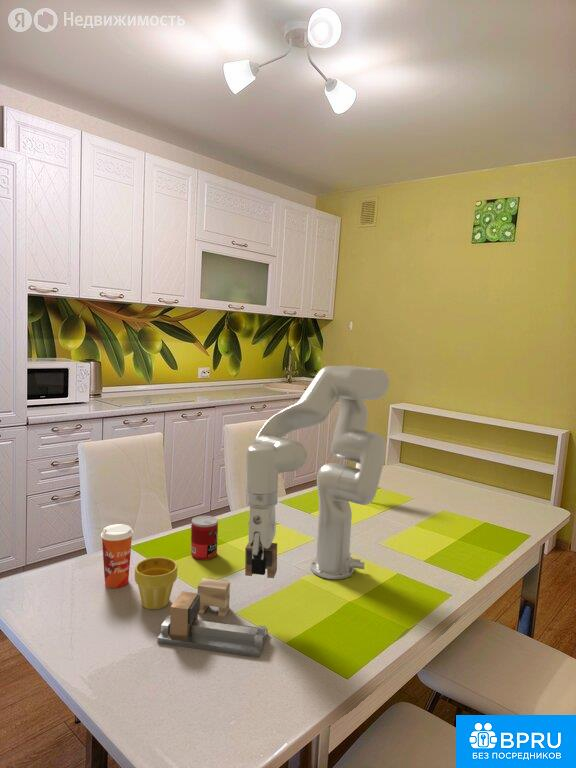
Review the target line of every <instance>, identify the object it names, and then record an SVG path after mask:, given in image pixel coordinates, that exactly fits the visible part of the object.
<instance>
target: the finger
mask: <svg viewBox="0 0 576 768" xmlns="http://www.w3.org/2000/svg"><path fill="white" fill-rule="evenodd" d="M259 545H262V544H259ZM252 550H253V546H252V547H250V546H249V541H248V542H247V545H246V546H245V555H244V557H245V558H244V559H245V560H244V561H245V567H244V569H245V572H244V573H245V575H244V576H247V577H248V576H249V577H252V576H253V574H252ZM259 551H260V552H261V553H262V549H259ZM264 558H266V567H265V570H266V572H267V573H266V575H267V576H266V577H267V579H274V578H276V577H275V576H276V574H277V570H278V543H277V542H272V544H271V546H270V547H269V548H268V549H266V548H265V554H264Z"/></svg>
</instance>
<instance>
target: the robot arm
mask: <svg viewBox="0 0 576 768" xmlns="http://www.w3.org/2000/svg"><path fill="white" fill-rule="evenodd" d="M389 388H390V377H389V375H388V374H387V372H386V371H385V370H383V369H381V368H376V367H375V368H374V367H365V366H359V365H358V366H357V365H356V366H355V365H339V366H338V365H326V366H324V367H323V368H321V369H320V370H319V371H318V372H317V374H316V376H314V378H313V380H312V381H311V382H310V384H309V385H308V387H307V388H306V389H305V391H304V393H303V394H302V395H301V396H300V398H299V400H298V401H297V402H295V403H294V404H292V405H290V406H287V407H286V408H284V409H283V410H280V411H279V412H277V413H275V414H274V415H273V416H271V417H270V418H269V419H267V421H266V422H265V423H264V425H263V426H262V427H261V429H260V430H259V431H258V433H257V435H256V436H255V438H254V439H253V442H252V445H250V446H248V448H247V449H246V452H245V453H246V457H245V458H246V464H245V465H246V470H245V471H246V473H245V474H246V475H245V476H246V478H245V503H246V505H247V506H249V514H248V542H249V546H250V547H252V546H253V550H252V575H260V576H264V575H266V569H265V567H266V558H264V554H265V548H266V549H268V548H269V547H270V546H271V544H272V543H274V542H273V541H274V539H275V536H276V533H277V524H276V523H277V521H276V519H277V518H276V506H277V505H278V503H279V502H278V501H279V497H278V495H279V494H278V493H279V492H278V491H279V490H278V489H279V474H284V473H292V472H296V471H298V470H300V469H301V468H302V467H303V466H304V465H305V463H306V462H307V457H308V452H307V449H306V447H305V445H303V444H302V443H301V442H298V441H296V440H292V439H288V438H284V437H285V436H286V435H288V434H290V433H291V432H293V431H297V430H300V429H301V430H302V429H305V428H310V427H314V426H319V425H320V424H323V422H325V420H326V419H327V418H328V416H329V415H330V413H331V411H332V409H334V406H336V403H337V402H338V403H339V413H338V417H337V421H336V424H335V428H334V433H333V436H332V439H331V446H330V450H331V451H330V452H331V453H332V455H333V456H334V457H335V458H338V459H339V460H342V461H347V462H350V463H355V464H356V463H359V464H361V467H360V469H358V468H356V467H354V466H349V465H346V464H341V463H337V462H329V463H328V462H327V463H325V464H323V465H322V466H321V467H320V468H319V470H317V471H318V472H317V475H316V486H317V493H318V521H317V536H316V537H317V539H316V540H317V541H316V557H315V559H313V560H312V561H311V562H310V570H311V572H313V574H315V575H316V576H318V577H320V578H324V579H327V580H343V579H347V578H349V577H351V576H352V575H353V574H354V571H355V569H359V570H365V562H364V561H361V558H354V557H353V556H352V557H351V554H352V553H351V551H350V549H351V534H352V533H351V532H352V531H351V530H352V508H351V505H350V503H353V504H356V505H361V506H368V505H370V504H371V503H372V502H373V501H374V499H375V497H376V495H377V492H378V488H379V483H380V480H381V475H382V472H383V468H384V463H385V460H386V455H387V445H386V440H385V438H384V437H383V436H382V435H381V434H379V433H377V432H374V431H369V430H366V429H367V423H368V419H369V410H368V406H367V404H366V402H365V401H374V400H375V401H377V400H380V399H382V398H383V397H384V396H385V395H386V394H388V391H389ZM259 544H262V545H259ZM259 549H262V553H261V552H260V551H259Z"/></svg>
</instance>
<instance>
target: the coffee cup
mask: <svg viewBox="0 0 576 768" xmlns="http://www.w3.org/2000/svg"><path fill="white" fill-rule="evenodd" d="M134 533H135V532H134V531H133V528H131V526H130V525H128V524H123V523H117V524H116V523H115V524H111V525H108V526H104V528H103V529H102V532H101V534H100V538H101V541H102V543H101V544H102V560H103V561H102V562H103V575H104V584H105V586H106V588H109V589H119V588H123V587H124V586H125V587H126V586H127V585H128V584H129V577H130V568H131V567H130V565H131V551H132V550H131V549H132V540H133V539H132V538H133V537H132V536H133V535H134Z"/></svg>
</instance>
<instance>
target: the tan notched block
mask: <svg viewBox="0 0 576 768" xmlns="http://www.w3.org/2000/svg"><path fill="white" fill-rule="evenodd" d="M230 591H231V580H225V579H217V578H216V579H215V578H210V577H205V578H204V577H203V578H201V580H200V582H199V583H198V585H197V593H198V595H200V611H199V612H198V614H204V613H206V610H207V609H208V608H209V607H215V608H218V616H219V617H226V615H227V613H228V611H229V609H230V599H231V598H230V597H231V596H230V595H231V594H230V593H231V592H230Z"/></svg>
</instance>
